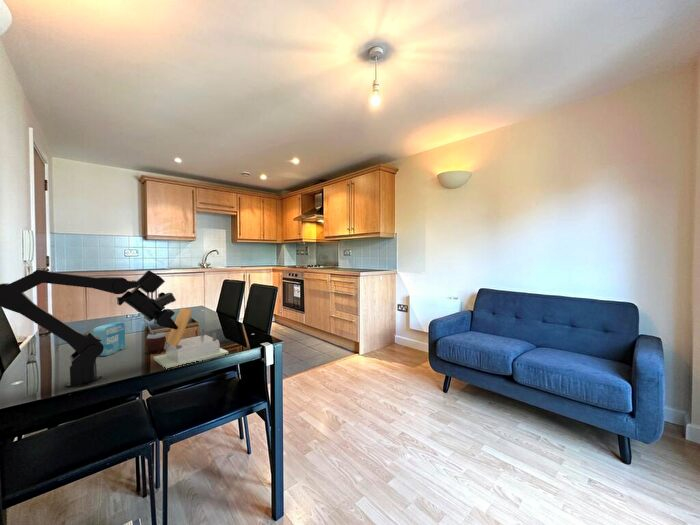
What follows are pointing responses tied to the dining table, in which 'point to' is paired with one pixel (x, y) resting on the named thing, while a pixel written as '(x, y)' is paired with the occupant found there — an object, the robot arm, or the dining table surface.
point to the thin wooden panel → (179, 327)
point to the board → (169, 362)
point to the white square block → (193, 348)
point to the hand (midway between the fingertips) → (177, 328)
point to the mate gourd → (155, 341)
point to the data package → (111, 337)
